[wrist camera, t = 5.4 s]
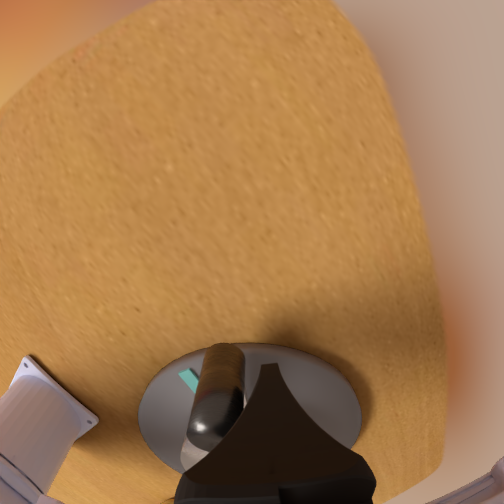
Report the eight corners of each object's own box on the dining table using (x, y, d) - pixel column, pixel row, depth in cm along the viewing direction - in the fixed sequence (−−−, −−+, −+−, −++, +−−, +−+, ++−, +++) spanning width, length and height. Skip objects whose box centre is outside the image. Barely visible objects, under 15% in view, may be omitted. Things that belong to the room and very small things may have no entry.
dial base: (248, 494, 22) (248, 505, 21) (106, 413, 19) (100, 425, 18) (392, 418, 19) (398, 429, 18) (252, 290, 16) (252, 301, 15)
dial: (313, 468, 19) (324, 534, 13) (201, 475, 19) (192, 539, 13) (312, 316, 15) (343, 405, 9) (143, 332, 15) (95, 414, 9)
